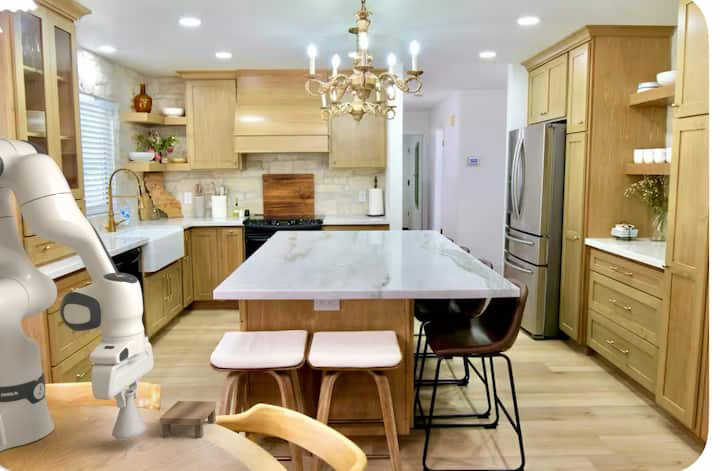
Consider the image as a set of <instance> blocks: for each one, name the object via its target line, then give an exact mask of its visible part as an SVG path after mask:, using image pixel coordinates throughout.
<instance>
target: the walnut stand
mask: <svg viewBox="0 0 720 471" xmlns="http://www.w3.org/2000/svg"><path fill="white" fill-rule="evenodd" d="M216 408H217V402H216V401H207V400H206V401H205V400H204V401H201V400H200V401H199V400H191V401H190V400H177V402H175V403H174V404H173V405H172V406H171V407H170V408H169V409H168V410H167V411H166V412H165V413H164V414H162V415H161V416H160V417H159V424H160V425H161V432H162V438H163V439H169V438H170V437H171V436H172V425H185V426H187V425H189V426H192V425H193V430H194V431H193V432H194V439H197V438H201V439H202V438H203V437H204V422H205V421H206V420H207V424H210V425H211V424H212V425H213V424H215V423H216V421H217V419H216V417H217V416H216ZM202 436H203V437H202Z"/></svg>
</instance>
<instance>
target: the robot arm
mask: <svg viewBox="0 0 720 471" xmlns="http://www.w3.org/2000/svg"><path fill="white" fill-rule="evenodd" d="M12 192H13V195H14V197H15V199H16V203H17V205H18V208H19V210H20V211H19V212H20V214H21V215H22V219H23V221H24V222H25V225H26V226H27V228H28V229H29V231H31V233H32V234H34V235H35V236H36V237H39V238H41V239H43V240H45V241H47V242H53V243H57V244H61V245H63V246H65V247H68V248H70V249H72V250H73V251H74V252H75V253H76V254H77V255H78V256H79V258H80V259H81V261H82V263H83V265H84V267H85V269H86V271H87V273H88V274H89V276H90V278H91V280H92V283H89V284H88V285H86V286H83V287H80V288H77V289H74V290H72V291H70V292H67V293H66V294H65V295H64V296H63V297H62V299H61V300H60V301H61V302H60V303H59V304H60V305H59V314H60V318H61V321H62V322H63V324H65V326H66V327H68V328H69V329H70V330H73V331H76V332H83V331H84V332H85V331H89V330H90V331H91V330H94V329H99V330H100V331H101V338H102V339H101V340H100V341H99V343H98V344H97V345H96V347H95V348H94V350H92V351H91V353H90V354H89V362H90V364H93V365H92V367H91V370H90V371H91V372H90V374H91V391H92V394H93V397H94V398H95V399H96V400H100V401H102V400H104V401H105V400H107V401H108V400H112V399H113V398H114V399H115V400H116V407H117V408H118V409H120V408H124V407H125V406H126V405H127V404H128V402H127V401H128V399H127V398H125V396H124V393H125V390H126V389H127V388H128V389H133V390H135V393H134V400H135V399H137V397H138V388H139V385H140V379H141V378H142V377H144V376H145V375H147V373H149V372H151V371H152V370H153V368H154V365H155V364H154V363H155V361H154V353H153V347H152V344H151V343H150V341H149V337H148V336H147V335H146V334H145V327H144V324H143V320H142V319H143V318H142V317H143V313H144V302H143V301H144V300H143V292H142V288H141V287H142V286H141V284H140V281H139V280H138V278H137V277H136V276H134V275H133V274H129V273H126V272H119V270H118V268H117V266H116V264H115V263H114V260H113V259H112V257H111V255H110V253H109V251H108V249H107V247H106V245H105V243H104V241H103V239H102V238H101V236H100V234H99V232H98V231H97V229H96V228H95V226H94V225H93V224H92V223H91V222H90V221H89V220H88V219H87V218H86V217H85V215H84V213H83V212H82V210H81V209H80V207H79V206H78V204H77V202H76V200H75V198H74V195H73V193H72V191H71V188H70V186H69V183H68V181H67V179H66V177H65V176H64V174H63V172H62V171H61V169H60V167H59V166H58V163H56V161H55V160H54V159H53V158H52V157H51V156H50V155H48V154H47V152H46V150H45V149H44V148H43V147H42V146H40V145H39V144H37V143H35V142H33V141H29V140H24V139H20V140H19V139H18V140H17V139H13V138H12V139H11V138H3V137H0V452H2V451H5V450H9V449H11V448H15V447H20V446H23V445H27V444H30V443H34V442H36V441H38V440H40V439H42V438H43V439H44V438H45V437H47V436H48V435H49V434H51V433H52V432H53V431H54V430H55V427H56V425H55V423H54V420H53V419H52V416H51V413H50V411H49V406H48V404H47V400H46V399H47V398H46V379H45V373H44V372H43V370H42V369H43V368H42V358H41V357H42V356H41V347H40V344H39V342H38V341H37V340H35V339H34V338H31V337H29V336H27V335H26V333H25V331H24V329H23V326H22V321H23V320H26V319H30V318H31V317H35V316H37V315H40V314H41V313H43V312H45V311H46V310H47V309H49V308H50V307H51V306H53V304H55V302H56V300H57V297H58V288H57V285H56V283H55V281H54V279H52V277H50V276H49V275H47V274H45V273H43V272H41V270H40V269H38V268H37V266H36V265H35V264H34V263H33V262H32V260H31V259H30V257H29V256H28V254H27V252H26V250H25V248H24V246H23V244H22V239H21V237H20V234H19V229H18V227H17V223H16V220H15V216H14V213H13V209H12V206H11V201H10V197H11V196H10V195H11V193H12Z"/></svg>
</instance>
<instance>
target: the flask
mask: <svg viewBox="0 0 720 471" xmlns="http://www.w3.org/2000/svg"><path fill="white" fill-rule="evenodd" d="M134 393H135V390H133V389H129V388H128V389H127V388H126V389H125V393H124V396H125V398H127V399H128V401H127V402H128V404H127V405H126V406H125V407H124V408H119V411H118V414H117V417H116V421H115V423H114V427H113V429H112V432H111V436H112V437H114V438H115V439H117V440H131V439H134V438H137V437H140V436H142V435H143V434H145V433H146V431H147V430H148V427H147V425H146V423H145V422H144V420H143V418H142V416H141V414H140V412H139V409H138V407H137V405H136V401H135V399H134Z"/></svg>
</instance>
